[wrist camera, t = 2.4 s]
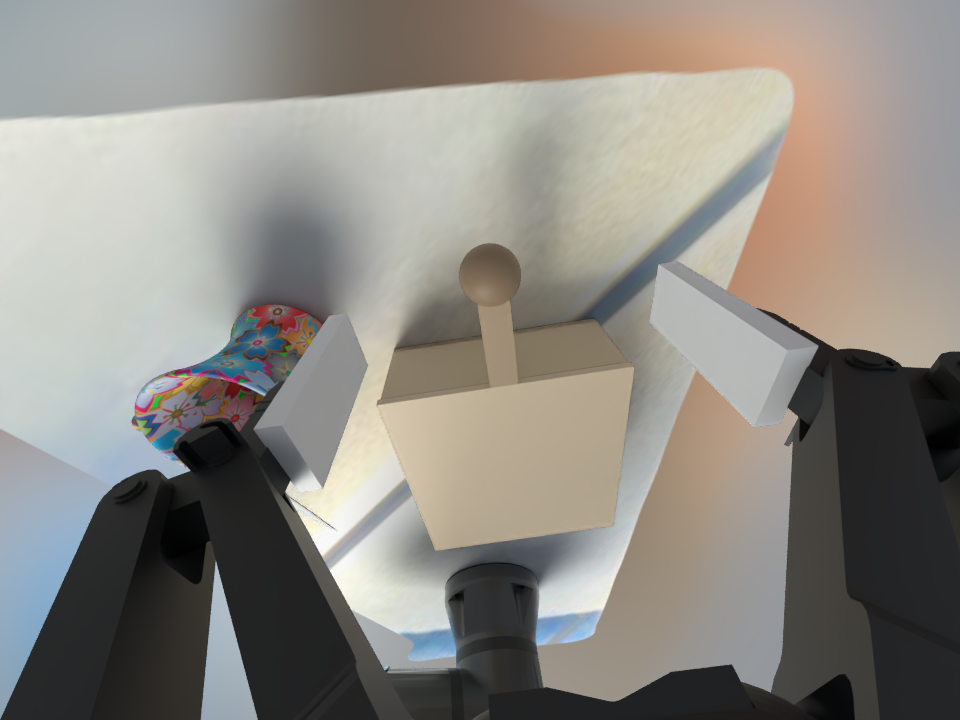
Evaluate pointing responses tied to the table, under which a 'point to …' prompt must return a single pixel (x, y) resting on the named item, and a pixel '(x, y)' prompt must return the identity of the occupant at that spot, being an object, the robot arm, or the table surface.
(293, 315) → the mug
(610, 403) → the lid
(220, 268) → the table surface
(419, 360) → the box
